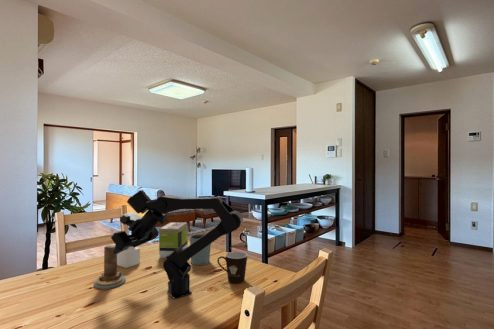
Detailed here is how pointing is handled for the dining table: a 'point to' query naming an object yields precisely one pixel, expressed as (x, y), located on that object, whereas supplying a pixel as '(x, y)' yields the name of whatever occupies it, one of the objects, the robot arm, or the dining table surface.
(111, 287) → the plate
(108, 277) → the gear spindle
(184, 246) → the tea box
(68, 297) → the dining table surface
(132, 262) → the medicine bottle
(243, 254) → the coffee mug
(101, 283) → the hub
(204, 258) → the drinking glass
